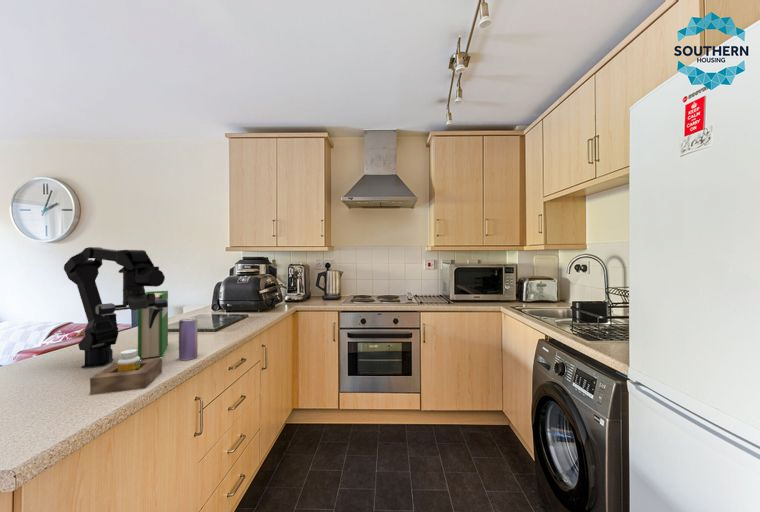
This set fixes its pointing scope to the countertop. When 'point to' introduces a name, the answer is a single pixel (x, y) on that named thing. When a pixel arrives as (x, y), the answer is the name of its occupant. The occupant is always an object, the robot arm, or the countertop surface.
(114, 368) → the well block
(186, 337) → the beverage can
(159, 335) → the hardback book
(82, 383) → the countertop surface
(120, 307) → the robot arm
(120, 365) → the supplement bottle
